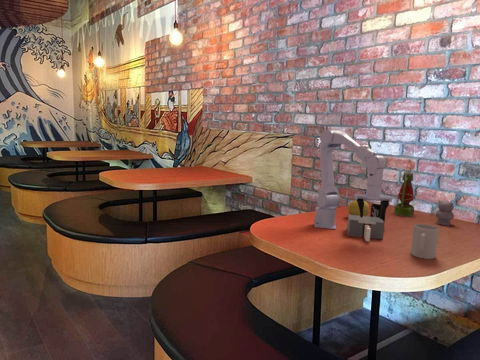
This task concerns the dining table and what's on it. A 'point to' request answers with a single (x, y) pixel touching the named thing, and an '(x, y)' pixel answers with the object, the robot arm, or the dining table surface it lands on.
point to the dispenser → (357, 223)
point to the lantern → (405, 195)
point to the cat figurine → (444, 212)
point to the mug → (424, 241)
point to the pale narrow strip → (366, 232)
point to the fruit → (354, 208)
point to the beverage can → (376, 210)
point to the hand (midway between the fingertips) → (370, 217)
